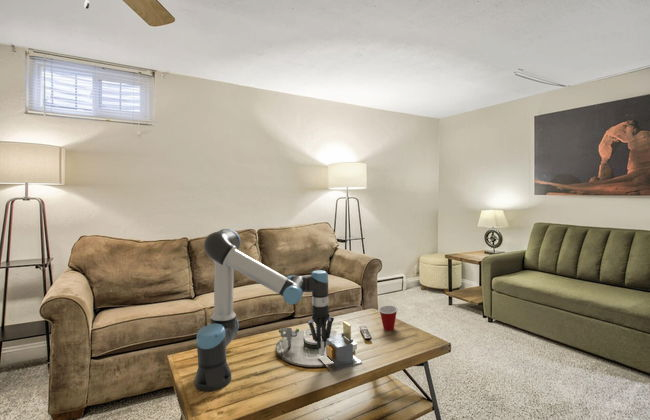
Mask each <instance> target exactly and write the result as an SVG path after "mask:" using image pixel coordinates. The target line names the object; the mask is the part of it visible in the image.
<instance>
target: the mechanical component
mask: <svg viewBox="0 0 650 420" xmlns="http://www.w3.org/2000/svg"><path fill="white" fill-rule="evenodd" d="M299 332H300V329H299V328H295V330H293V329H292V327H280V329H278V333H280V337H281V338H286V340H287V348H288V347H291V348H292V338H296V337H297V336H298V333H299Z"/></svg>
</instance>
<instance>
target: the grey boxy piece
mask: <svg viewBox="0 0 650 420" xmlns="http://www.w3.org/2000/svg"><path fill="white" fill-rule="evenodd" d="M326 340H327V341H326V347H325V351H326V352H325V353H326V355H325V356H327V357H328V358H329V359H330V360H331V361H333V362H334V364H331V365H326V366H325V368H327V370H329V371H330V373H334V372H338V371H341V370H343V369H346V368H347V369H348V368H351V367H354V366H357V365H360V364H362V363H363V362H362V360H361V359H359V358H358V357H356V355H354V350H353V342H354V339H353V338H352V337H351V339H347V338H346V337H345V336H344V335H343V332H341V333H339V334H335V335H330V338H329V339H326ZM327 345H330V346H331V347H332V348H333V349H334V359H331V358H330V357H329V356H328V355H327ZM321 357H323V356H321Z"/></svg>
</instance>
